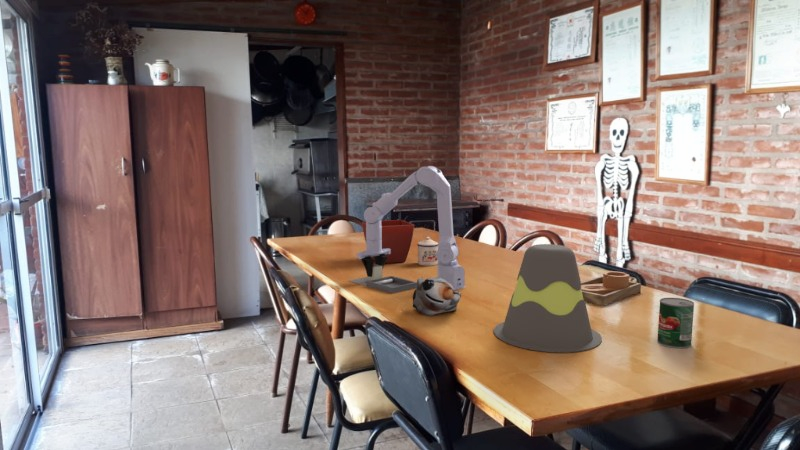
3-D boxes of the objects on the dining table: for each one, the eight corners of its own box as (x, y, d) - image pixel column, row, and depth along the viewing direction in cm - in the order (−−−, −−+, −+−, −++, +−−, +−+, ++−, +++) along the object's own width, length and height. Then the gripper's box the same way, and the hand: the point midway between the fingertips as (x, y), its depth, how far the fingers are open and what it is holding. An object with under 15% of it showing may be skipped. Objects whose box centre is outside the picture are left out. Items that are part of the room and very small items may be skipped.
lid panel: (391, 282, 212) (391, 278, 212) (366, 287, 204) (366, 284, 204) (372, 277, 220) (372, 274, 220) (347, 282, 212) (347, 278, 212)
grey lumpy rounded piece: (462, 307, 179) (470, 273, 171) (449, 331, 170) (457, 297, 162) (419, 289, 183) (425, 256, 175) (403, 313, 174) (409, 279, 166)
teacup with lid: (421, 266, 240) (421, 239, 238) (414, 262, 248) (414, 236, 247) (447, 264, 244) (448, 237, 242) (439, 260, 252) (439, 234, 251)
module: (382, 279, 211) (382, 265, 211) (374, 281, 209) (374, 266, 208) (375, 277, 214) (375, 263, 214) (367, 279, 212) (367, 264, 211)
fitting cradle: (640, 291, 197) (641, 283, 197) (604, 305, 180) (604, 296, 180) (600, 284, 208) (600, 276, 208) (562, 296, 191) (562, 287, 191)
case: (417, 288, 202) (417, 282, 202) (392, 294, 194) (392, 288, 194) (391, 282, 212) (391, 275, 212) (366, 287, 204) (366, 281, 204)
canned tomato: (652, 343, 146) (654, 301, 144) (664, 336, 151) (666, 295, 150) (684, 350, 140) (687, 307, 139) (696, 343, 146) (699, 301, 144)
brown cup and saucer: (618, 290, 201) (619, 270, 200) (633, 296, 193) (634, 275, 192) (572, 293, 196) (573, 273, 195) (585, 299, 188) (586, 279, 187)
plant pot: (361, 257, 259) (361, 221, 257) (401, 255, 265) (401, 219, 263) (372, 266, 241) (372, 226, 239) (415, 263, 247) (415, 224, 245)
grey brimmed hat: (523, 313, 172) (525, 235, 169) (617, 332, 155) (621, 245, 151) (474, 337, 151) (475, 247, 148) (576, 362, 133) (580, 261, 130)
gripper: (381, 235, 218) (382, 270, 219) (351, 240, 208) (352, 276, 210) (394, 238, 212) (394, 273, 214) (363, 242, 203) (364, 279, 205)
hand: (374, 275), depth 212 cm, fingers closed on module, 4 cm apart
